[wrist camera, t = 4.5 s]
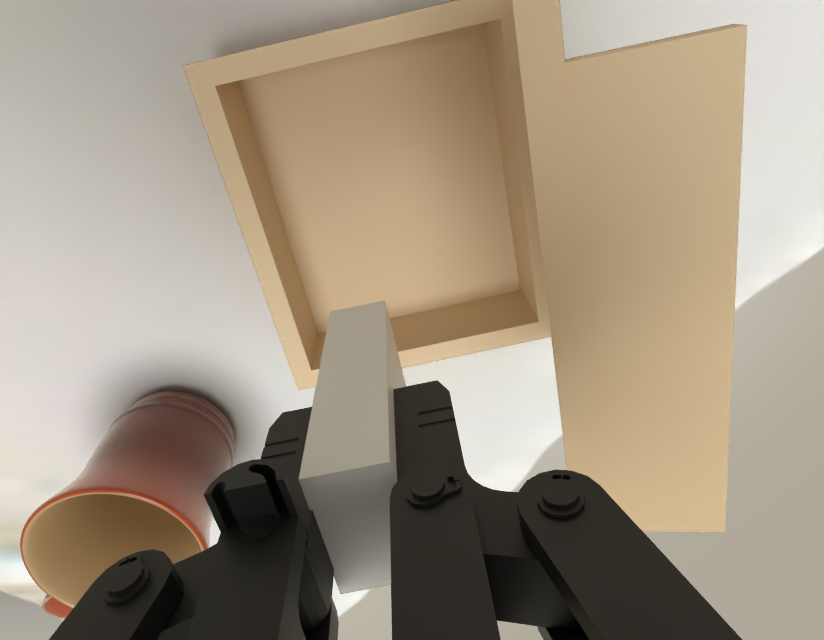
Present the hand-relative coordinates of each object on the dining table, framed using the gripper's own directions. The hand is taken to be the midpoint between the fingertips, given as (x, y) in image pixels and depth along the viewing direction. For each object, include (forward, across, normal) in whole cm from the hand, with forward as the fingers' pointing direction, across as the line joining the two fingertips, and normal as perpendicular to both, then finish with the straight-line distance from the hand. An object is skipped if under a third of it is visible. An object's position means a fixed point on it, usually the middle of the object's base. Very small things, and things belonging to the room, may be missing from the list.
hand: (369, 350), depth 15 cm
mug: (+17, -17, -13) cm, 27 cm away
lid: (+5, +6, 0) cm, 8 cm away
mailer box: (+17, +1, 0) cm, 17 cm away
